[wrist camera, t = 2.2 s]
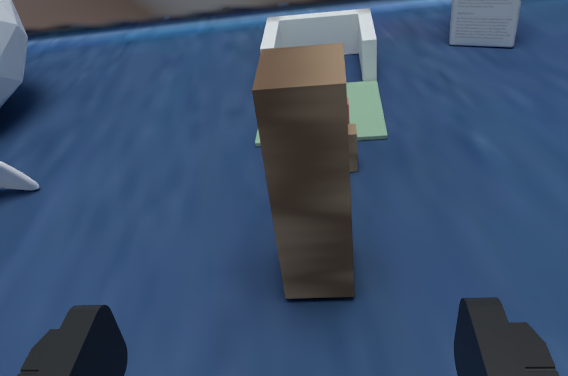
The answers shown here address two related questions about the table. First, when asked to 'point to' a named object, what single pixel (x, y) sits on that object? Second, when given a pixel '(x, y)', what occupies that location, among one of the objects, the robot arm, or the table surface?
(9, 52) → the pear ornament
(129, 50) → the table surface
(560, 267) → the table surface
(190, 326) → the table surface
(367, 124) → the pale green square plate
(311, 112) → the brown thin block
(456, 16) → the skincare box
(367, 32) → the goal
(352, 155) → the guides
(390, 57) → the table surface
